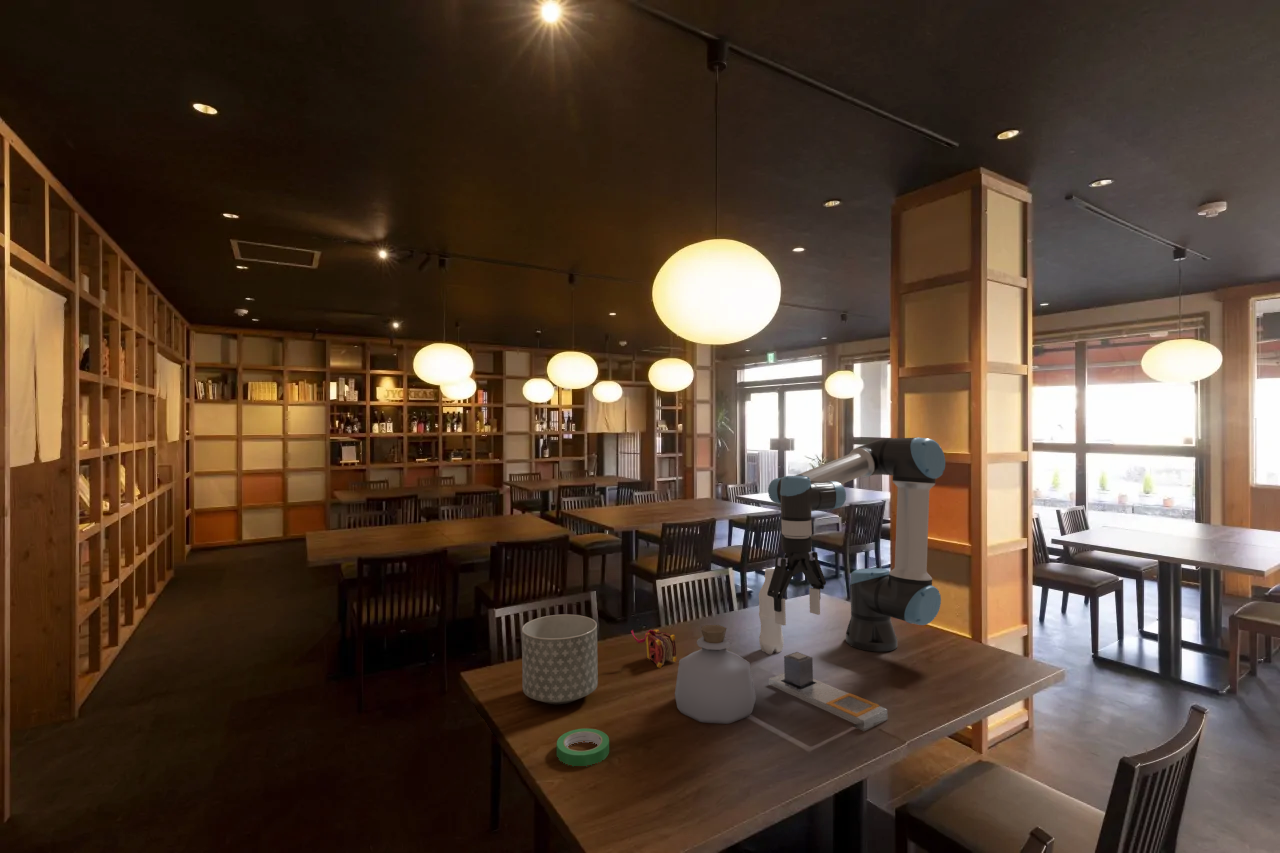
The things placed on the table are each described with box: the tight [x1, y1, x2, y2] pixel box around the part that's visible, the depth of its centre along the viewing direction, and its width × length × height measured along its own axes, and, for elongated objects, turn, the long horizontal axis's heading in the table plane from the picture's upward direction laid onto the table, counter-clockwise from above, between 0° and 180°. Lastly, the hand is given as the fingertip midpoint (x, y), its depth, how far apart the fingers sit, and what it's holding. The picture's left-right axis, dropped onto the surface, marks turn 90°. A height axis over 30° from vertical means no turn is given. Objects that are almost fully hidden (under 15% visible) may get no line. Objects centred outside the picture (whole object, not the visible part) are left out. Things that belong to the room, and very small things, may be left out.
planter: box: [521, 614, 599, 705], centre depth 149 cm, size 19×19×18 cm
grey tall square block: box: [783, 651, 814, 690], centre depth 150 cm, size 5×5×8 cm
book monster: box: [630, 629, 678, 669], centre depth 170 cm, size 11×9×12 cm
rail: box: [768, 672, 888, 732], centre depth 143 cm, size 9×28×3 cm, turn 35°
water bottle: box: [758, 567, 785, 655], centre depth 178 cm, size 7×7×25 cm
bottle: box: [674, 624, 757, 725], centre depth 143 cm, size 20×20×19 cm
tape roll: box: [556, 727, 610, 767], centre depth 123 cm, size 11×11×3 cm
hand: (798, 618), depth 150 cm, fingers open, 13 cm apart
